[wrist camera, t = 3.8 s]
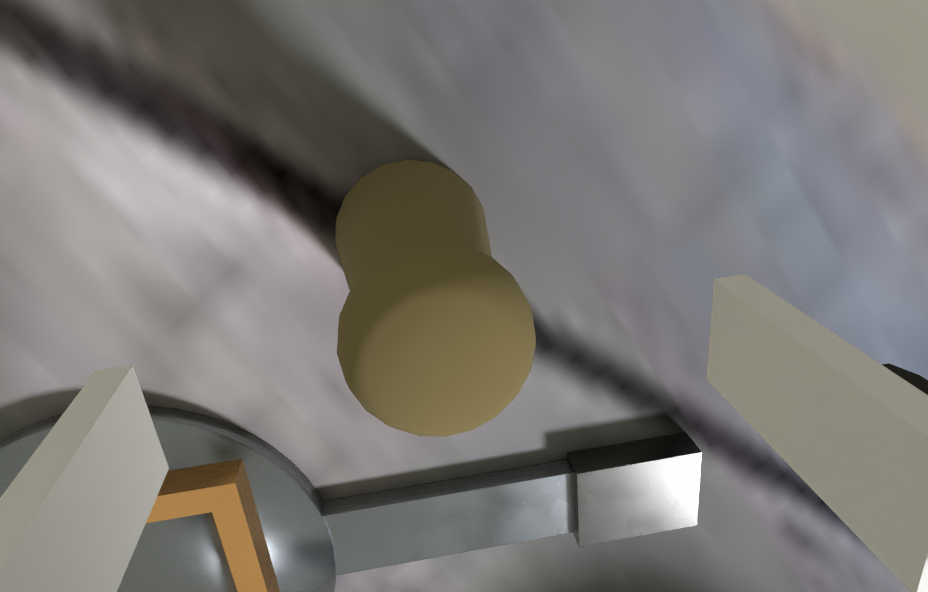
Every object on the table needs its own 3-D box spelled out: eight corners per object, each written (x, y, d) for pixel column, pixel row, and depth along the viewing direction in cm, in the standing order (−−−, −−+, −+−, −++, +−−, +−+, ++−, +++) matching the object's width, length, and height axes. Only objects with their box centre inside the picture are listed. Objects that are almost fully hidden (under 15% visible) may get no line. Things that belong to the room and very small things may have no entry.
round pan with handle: (24, 719, 32) (-6, 779, 29) (-133, 442, 25) (-188, 488, 23) (677, 592, 35) (701, 635, 33) (692, 316, 29) (724, 344, 26)
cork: (371, 326, 27) (377, 507, 16) (308, 194, 24) (269, 312, 14) (506, 273, 27) (594, 421, 16) (457, 135, 24) (524, 211, 14)
